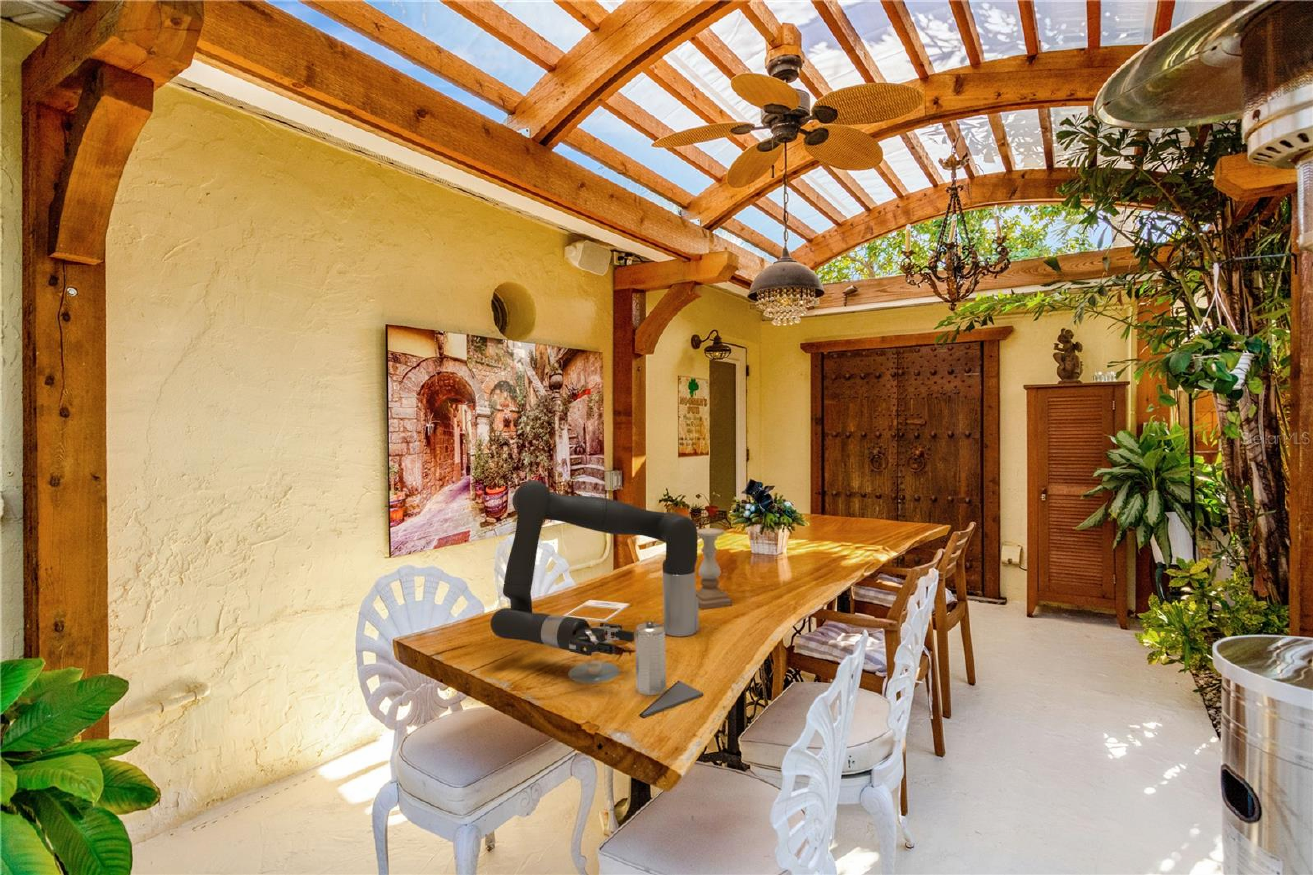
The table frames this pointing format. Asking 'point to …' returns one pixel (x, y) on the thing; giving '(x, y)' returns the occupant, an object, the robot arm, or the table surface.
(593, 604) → the white rectangular frame
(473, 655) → the table surface
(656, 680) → the steel canister
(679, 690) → the rubber mat
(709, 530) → the candle holder
